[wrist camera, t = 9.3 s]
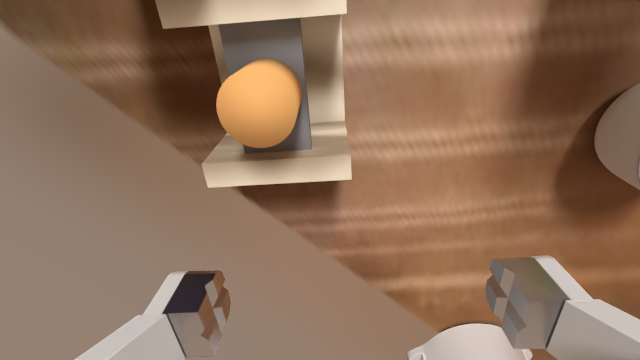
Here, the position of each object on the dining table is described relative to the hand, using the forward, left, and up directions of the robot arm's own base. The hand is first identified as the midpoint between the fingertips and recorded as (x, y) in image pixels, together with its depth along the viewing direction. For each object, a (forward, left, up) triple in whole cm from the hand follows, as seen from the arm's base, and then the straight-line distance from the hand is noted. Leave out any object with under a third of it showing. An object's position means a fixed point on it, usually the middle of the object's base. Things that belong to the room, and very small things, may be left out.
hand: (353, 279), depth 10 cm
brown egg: (+3, +5, -15) cm, 16 cm away
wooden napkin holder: (+3, +5, -24) cm, 24 cm away
